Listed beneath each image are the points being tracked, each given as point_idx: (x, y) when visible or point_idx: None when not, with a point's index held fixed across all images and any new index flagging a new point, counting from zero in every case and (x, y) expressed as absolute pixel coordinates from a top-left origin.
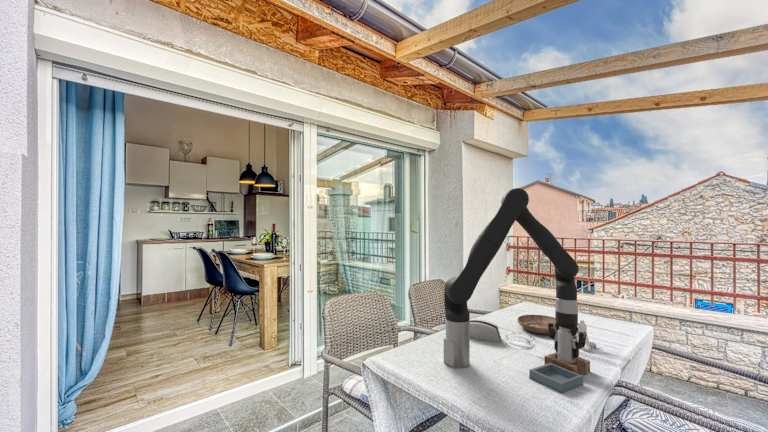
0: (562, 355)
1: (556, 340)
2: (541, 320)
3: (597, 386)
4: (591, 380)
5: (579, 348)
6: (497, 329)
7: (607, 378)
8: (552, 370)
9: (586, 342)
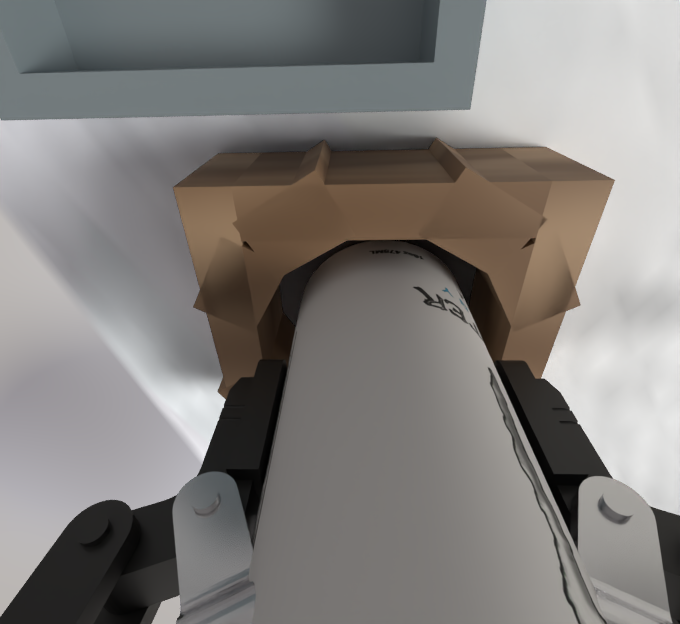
0: (381, 305)
1: (590, 514)
2: None
3: (29, 206)
4: (141, 268)
5: (110, 501)
6: None
7: (145, 384)
8: (403, 60)
9: None
